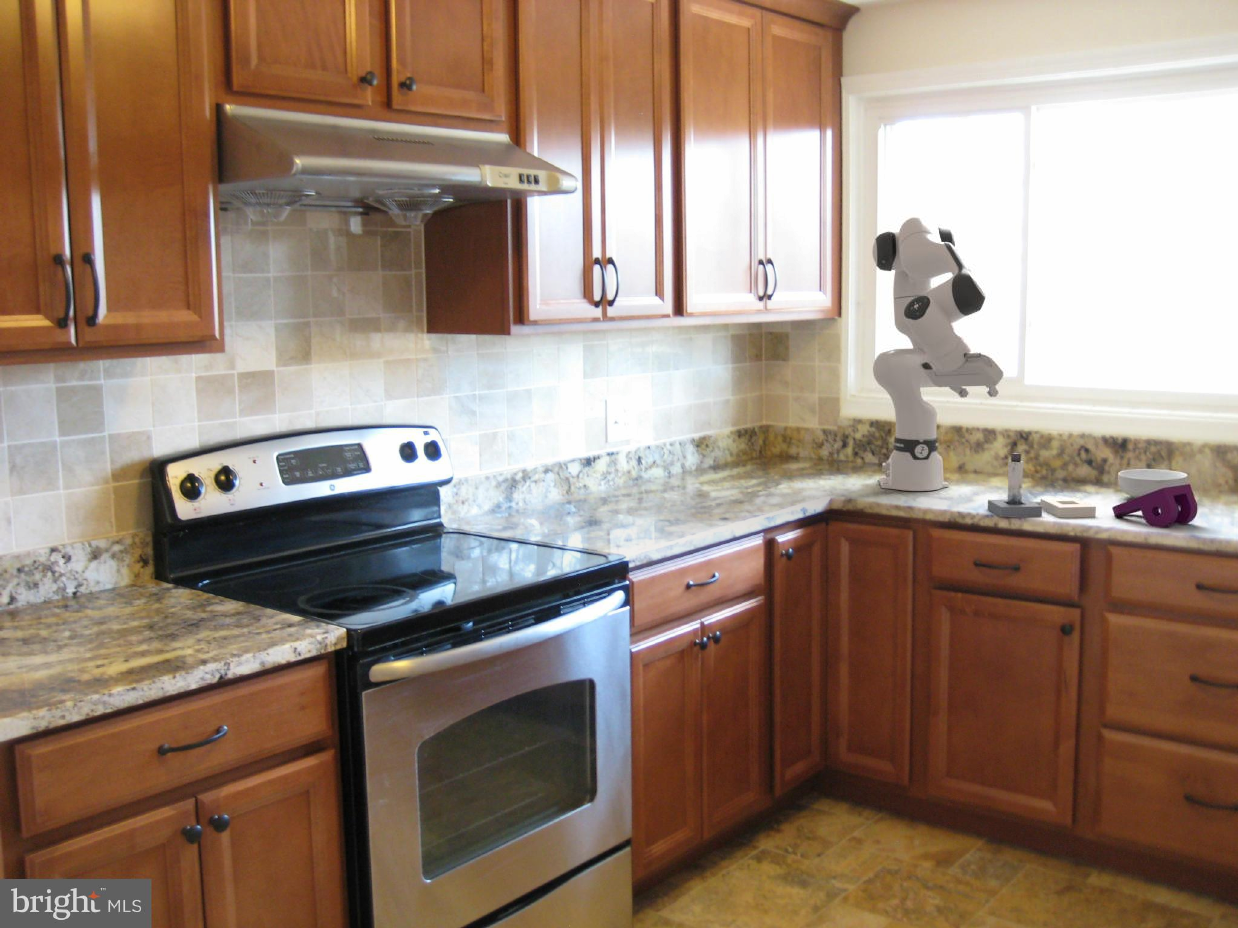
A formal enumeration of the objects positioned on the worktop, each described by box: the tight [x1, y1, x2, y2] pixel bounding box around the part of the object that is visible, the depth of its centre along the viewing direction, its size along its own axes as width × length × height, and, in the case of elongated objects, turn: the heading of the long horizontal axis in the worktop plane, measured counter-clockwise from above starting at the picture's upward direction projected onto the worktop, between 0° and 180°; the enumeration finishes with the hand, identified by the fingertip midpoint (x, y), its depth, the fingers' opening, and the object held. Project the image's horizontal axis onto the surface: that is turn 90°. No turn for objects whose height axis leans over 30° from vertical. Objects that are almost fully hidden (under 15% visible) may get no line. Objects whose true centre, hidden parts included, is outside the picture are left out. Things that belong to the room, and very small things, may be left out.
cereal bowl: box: [1117, 468, 1189, 499], centre depth 315 cm, size 17×17×7 cm
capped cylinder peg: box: [1007, 452, 1024, 505], centre depth 300 cm, size 3×3×15 cm
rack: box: [1039, 497, 1097, 519], centre depth 300 cm, size 12×9×2 cm
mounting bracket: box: [1111, 483, 1198, 529], centre depth 288 cm, size 9×8×18 cm
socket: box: [987, 498, 1043, 518], centre depth 301 cm, size 10×10×2 cm
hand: (979, 395), depth 294 cm, fingers open, 8 cm apart
